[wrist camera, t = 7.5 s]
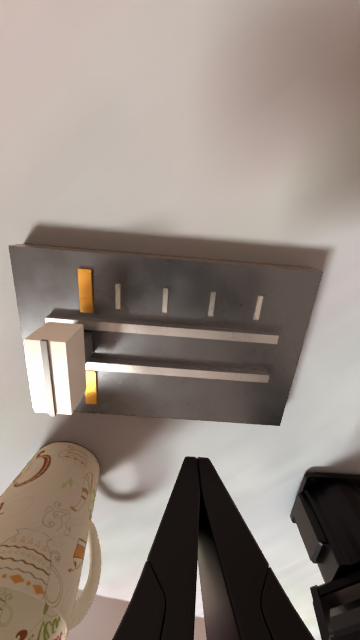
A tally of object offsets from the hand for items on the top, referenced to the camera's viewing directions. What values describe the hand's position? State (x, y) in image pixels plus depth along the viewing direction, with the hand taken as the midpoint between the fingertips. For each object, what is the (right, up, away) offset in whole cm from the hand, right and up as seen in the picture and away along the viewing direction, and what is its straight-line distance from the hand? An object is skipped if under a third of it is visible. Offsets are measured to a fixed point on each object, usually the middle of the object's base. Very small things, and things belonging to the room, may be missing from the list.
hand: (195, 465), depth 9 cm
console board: (-2, +4, +10) cm, 11 cm away
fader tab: (-7, +4, +8) cm, 12 cm away
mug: (-10, -10, +16) cm, 21 cm away
